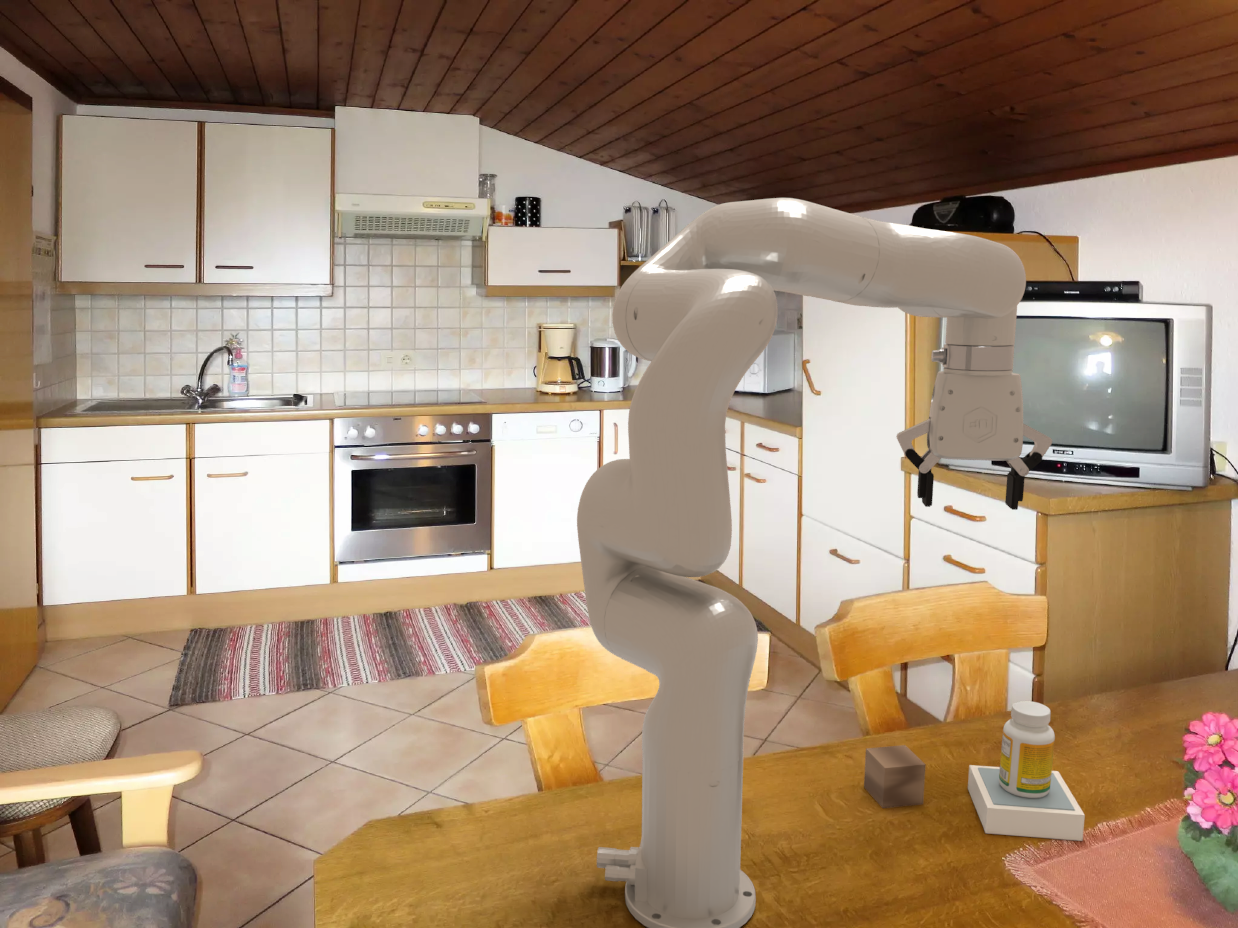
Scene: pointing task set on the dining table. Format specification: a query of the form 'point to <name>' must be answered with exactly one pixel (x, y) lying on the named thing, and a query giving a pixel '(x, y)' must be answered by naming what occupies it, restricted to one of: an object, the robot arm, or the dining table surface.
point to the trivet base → (1025, 808)
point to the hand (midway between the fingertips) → (968, 505)
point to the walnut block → (894, 776)
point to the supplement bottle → (1027, 751)
